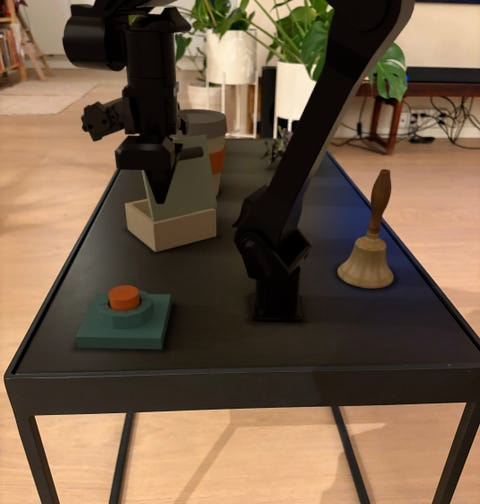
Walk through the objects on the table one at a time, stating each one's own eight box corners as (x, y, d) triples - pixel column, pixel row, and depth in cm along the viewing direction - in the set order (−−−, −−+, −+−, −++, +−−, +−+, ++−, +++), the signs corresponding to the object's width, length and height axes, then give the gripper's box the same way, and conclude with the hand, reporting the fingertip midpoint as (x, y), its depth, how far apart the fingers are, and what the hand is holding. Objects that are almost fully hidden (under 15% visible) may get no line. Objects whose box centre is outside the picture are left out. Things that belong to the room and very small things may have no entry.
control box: (161, 349, 61) (160, 325, 59) (77, 348, 61) (73, 323, 59) (171, 305, 70) (170, 282, 68) (97, 303, 70) (94, 280, 68)
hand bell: (384, 262, 81) (404, 161, 72) (400, 289, 74) (424, 180, 66) (332, 262, 81) (346, 160, 72) (343, 289, 74) (359, 180, 65)
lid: (136, 145, 76) (150, 142, 72) (203, 134, 82) (219, 132, 78) (151, 221, 80) (165, 223, 76) (215, 207, 86) (231, 207, 82)
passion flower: (298, 195, 121) (309, 163, 110) (253, 184, 121) (260, 150, 110) (306, 157, 125) (318, 122, 114) (262, 146, 125) (270, 110, 114)
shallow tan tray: (127, 229, 90) (124, 203, 87) (185, 216, 96) (184, 190, 93) (155, 252, 83) (153, 224, 80) (216, 236, 88) (216, 209, 86)
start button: (137, 312, 62) (135, 300, 61) (107, 312, 62) (105, 299, 61) (142, 297, 65) (141, 285, 64) (113, 296, 65) (112, 284, 64)
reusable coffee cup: (238, 196, 104) (240, 119, 96) (182, 208, 99) (179, 126, 90) (208, 179, 113) (207, 106, 105) (155, 188, 107) (150, 112, 99)
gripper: (102, 62, 68) (116, 178, 77) (57, 87, 53) (80, 230, 61) (186, 64, 68) (191, 180, 77) (166, 90, 52) (174, 232, 61)
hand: (160, 203), depth 69 cm, fingers closed
